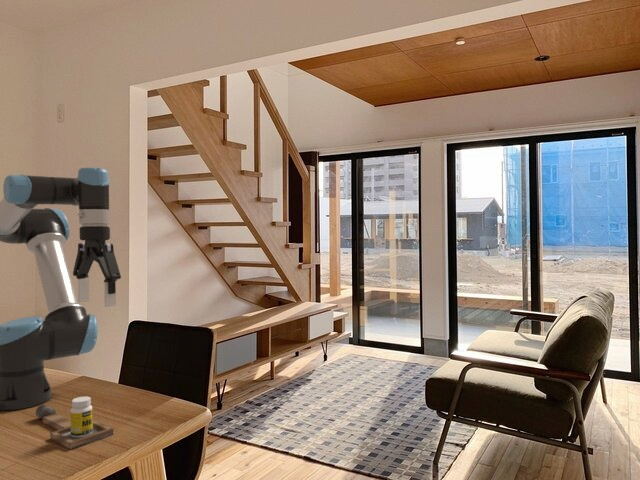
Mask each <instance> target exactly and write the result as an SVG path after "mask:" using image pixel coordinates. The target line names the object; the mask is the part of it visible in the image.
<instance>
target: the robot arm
mask: <svg viewBox="0 0 640 480" xmlns="http://www.w3.org/2000/svg"><path fill="white" fill-rule="evenodd" d="M2 185H3V186H2V187H3V192H2V193H3V198H2V199H1V200H0V242H2V243H5V244H11V245H15V244H17V245H18V244H19V245H20V244H26V247H27V250H28V251H29V252H31V253H32V254H34V259H35V262H36V268H37V271H38V275H39V279H40V283H41V287H42V291H43V295H44V298H45V303H46V307H47V311H48V313H47V314H46V315H45V317H44V319H43V317H41V316H36V315H35V316H34V315H33V316H25V317H20V318H17V319H16V318H15V319H13V320H12V319H11V320H9V321H6V322H4V323H1V324H0V411H16V410H22V409H26V408H28V409H29V408H31V407H35V406H40V405H41V404H43V403H46V402H48V401H49V400H50V399H52V387H51V384H50V382H49V381H48V378H47V375H46V373H45V368H44V367H45V366H44V365H45V361H49V360H57V359H61V358H62V359H63V358H68V357H73V356H80V355H82V354H87V353H90V352H91V351H93V349H94V348H95V346H96V343H97V340H98V334H99V333H98V331H99V329H98V320H97V318H96V316H95V314H91V313H89V314H88V313H87V311H86V310H87V309H86V308H85V307H84V306H83V305H80V304H79V303H87V302H90V284H89V283H90V277H89V273H90V270H91V268H92V265H93V263H94V261H95V262H96V263H97V264H98V266H99V268H100V270H101V272H102V274H103V276H104V280H103V292H104V296H103V299H104V300H103V301H104V308H108V307H109V308H110V307H115V306H117V303H116V300H117V299H116V297H117V296H116V295H117V293H116V292H117V291H116V286H117V285H116V283H117V281H118V280H120V279H121V278H122V276H121V272H120V269H119V265H118V262H117V258H116V255H115V251H114V244H113V243H106V241H109V240H110V239H111V227H110V226H108V225H110V223H111V220H110V219H111V217H110V215H111V214H110V180H109V172H108V170H107V169H106V168H102V167H101V168H100V167H81V168H79V169H78V171H77V177H76V178H75V177H61V176H42V175H41V176H40V175H26V174H9V175H7V176H6V177H5V178H4V182H3V184H2ZM38 205H57V206H58V205H61V206H62V205H64V206H65V205H66V206H74V207H75V206H78V212H79V213H77V215H78V217H79V218H78V221H79V222H78V223H79V224H80V225H81V226H79V228H78V229H79V232H78V233H79V240H80V241H84V242H79V243H78V244H77V254H76V256H75V257H76V258H75V262H74V266H73V271H72V275H73V276H74V277H76V279H77V294H78V295H77V294H76V290H75V285H74V282H73V280H72V279H73V278H72V276H71V272H70V269H69V266H68V261H67V257H66V254H65V251H64V247H65V245H66V243H67V241H68V239H69V237H70V227H69V226H70V223H69V220H68V218H67V216H66V214H65V212H63V211H62V210H60V209H57V208H49V207H46V208H36V206H38Z"/></svg>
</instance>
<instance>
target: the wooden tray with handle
mask: <svg viewBox="0 0 640 480" xmlns="http://www.w3.org/2000/svg"><path fill="white" fill-rule="evenodd" d="M35 415H36V417H37V418H40V419H42V423H43V424H45V425H48V426H50V427H52V428H54V429H56V430H54V431H51V432H50V433H49V437H50V440H52V441H55V442H56V443H59V444H60V445H61V446H63V447H65V448H67V449H69V450H75V449H77V448H80V447H84V446H85V445H88V444H89V445H90V444H91V443H93V442H97V441H99V440H102V439H105V438H108V437H110V436H113V435H114V428H112V427H111V426H108V425H106V424H103V423H101V422H99V421H97V420H95V419H93V432H92V434H90V435H89V436H86V437H82V438H74V437H72V436H71V419H70V418H69V419H68V418H66V417H64V416H62V415H59V414H57V412H56V409H55V408H53V407H51V406H48V405H46V404H42V405H41V404H40V405H38V407H37V408H36V410H35Z"/></svg>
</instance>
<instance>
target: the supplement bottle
mask: <svg viewBox="0 0 640 480" xmlns="http://www.w3.org/2000/svg"><path fill="white" fill-rule="evenodd" d="M91 400H92V397H90V396H79V397H75V398H73V399H72V401H71V406H72V407H71V408H70V414H69V415H70V420H71V436H72V437H74V438H82V437H86V436H89V435H90V434H92V432H93V420H94V418H93V417H94V416H93V415H94V414H93V412H94V411H93V406H92V405H91V404H92V401H91Z"/></svg>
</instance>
